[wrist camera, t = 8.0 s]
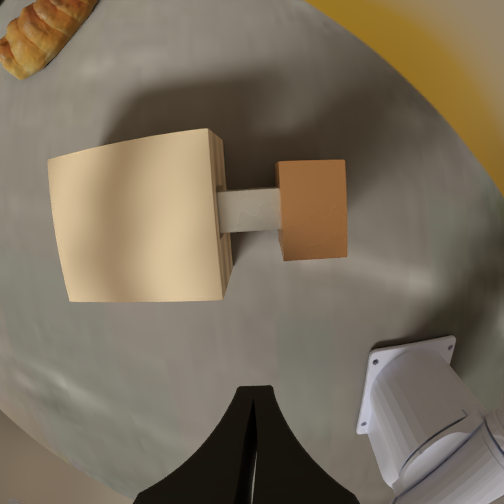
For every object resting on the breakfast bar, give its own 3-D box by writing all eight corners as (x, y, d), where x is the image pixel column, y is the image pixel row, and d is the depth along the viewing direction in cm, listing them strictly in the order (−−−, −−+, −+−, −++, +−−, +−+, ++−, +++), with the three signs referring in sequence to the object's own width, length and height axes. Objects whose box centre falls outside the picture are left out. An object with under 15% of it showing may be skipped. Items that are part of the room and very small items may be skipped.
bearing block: (222, 140, 18) (207, 128, 13) (233, 267, 20) (222, 300, 15) (93, 160, 18) (47, 159, 13) (108, 273, 20) (69, 301, 15)
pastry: (86, -25, 14) (65, -44, 11) (115, 8, 16) (93, -13, 12) (11, 49, 16) (-15, 40, 12) (30, 91, 17) (1, 84, 13)
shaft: (325, 162, 17) (344, 159, 13) (327, 237, 18) (347, 257, 14) (78, 188, 18) (37, 194, 14) (87, 252, 19) (50, 272, 15)
